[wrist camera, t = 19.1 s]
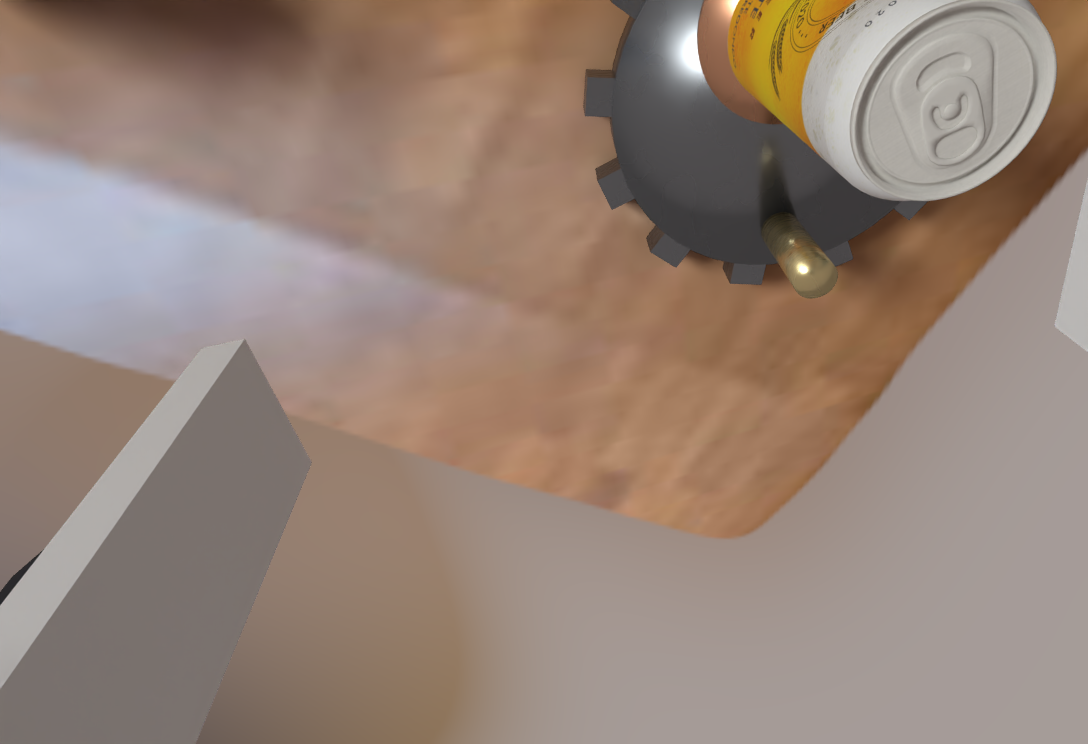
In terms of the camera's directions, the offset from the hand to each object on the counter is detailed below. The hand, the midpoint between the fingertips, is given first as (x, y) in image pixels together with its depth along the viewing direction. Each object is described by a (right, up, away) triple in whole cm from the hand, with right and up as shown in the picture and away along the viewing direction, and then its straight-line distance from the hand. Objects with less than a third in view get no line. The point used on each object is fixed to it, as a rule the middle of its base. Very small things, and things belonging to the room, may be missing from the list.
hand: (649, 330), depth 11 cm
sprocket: (+10, +14, +24) cm, 30 cm away
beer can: (+10, +15, +20) cm, 27 cm away
